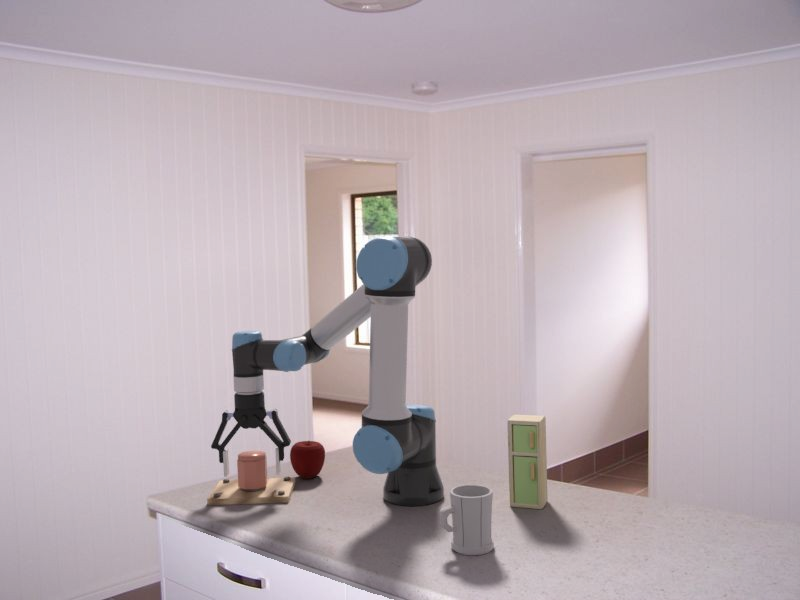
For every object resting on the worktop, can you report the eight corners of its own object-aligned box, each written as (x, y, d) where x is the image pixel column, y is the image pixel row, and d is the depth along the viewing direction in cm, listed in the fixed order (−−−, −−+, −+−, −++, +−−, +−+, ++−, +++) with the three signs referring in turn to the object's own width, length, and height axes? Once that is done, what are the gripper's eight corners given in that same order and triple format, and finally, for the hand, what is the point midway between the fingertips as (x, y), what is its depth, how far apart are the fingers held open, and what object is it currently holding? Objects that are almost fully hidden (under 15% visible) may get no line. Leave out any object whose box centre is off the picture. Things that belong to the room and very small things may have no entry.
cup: (478, 562, 153) (477, 502, 153) (438, 553, 158) (436, 495, 157) (501, 544, 162) (500, 487, 162) (462, 536, 167) (461, 481, 166)
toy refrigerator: (507, 507, 185) (506, 420, 183) (515, 498, 192) (513, 413, 190) (541, 511, 182) (540, 422, 180) (547, 501, 189) (546, 415, 187)
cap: (264, 488, 197) (263, 457, 197) (236, 489, 197) (235, 458, 196) (268, 480, 204) (267, 450, 204) (241, 481, 204) (240, 451, 203)
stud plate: (295, 482, 209) (294, 454, 209) (288, 502, 193) (287, 471, 193) (220, 485, 209) (219, 456, 208) (207, 505, 193) (206, 474, 192)
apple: (323, 481, 209) (322, 445, 209) (288, 482, 209) (286, 446, 209) (327, 471, 219) (326, 436, 218) (293, 472, 219) (292, 437, 218)
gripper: (299, 387, 203) (302, 468, 205) (203, 390, 202) (207, 471, 204) (296, 392, 196) (299, 476, 197) (196, 396, 195) (200, 480, 196)
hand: (252, 474), depth 200 cm, fingers open, 13 cm apart
